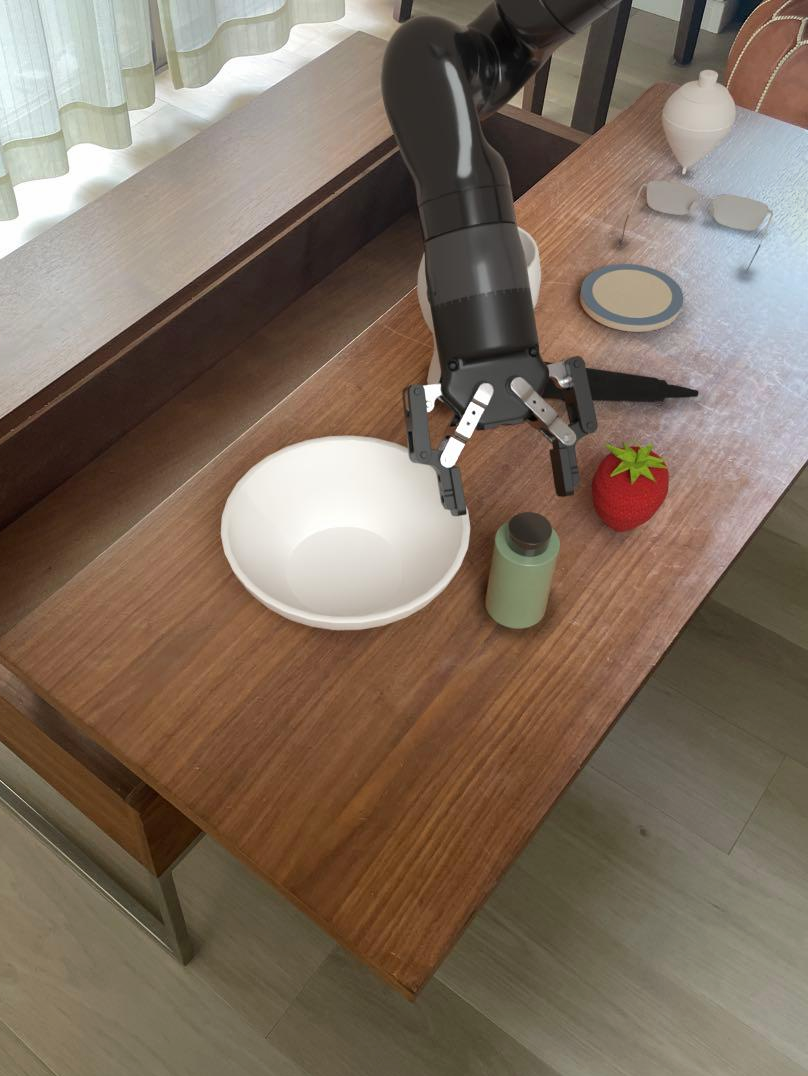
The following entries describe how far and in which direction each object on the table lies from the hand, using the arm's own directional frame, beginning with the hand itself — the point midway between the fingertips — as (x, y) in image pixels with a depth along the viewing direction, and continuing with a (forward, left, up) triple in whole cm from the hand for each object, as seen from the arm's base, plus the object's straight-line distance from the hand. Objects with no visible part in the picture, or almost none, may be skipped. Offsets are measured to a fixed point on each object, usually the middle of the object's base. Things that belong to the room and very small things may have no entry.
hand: (512, 505), depth 84 cm
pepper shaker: (-2, +3, -8) cm, 9 cm away
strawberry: (-8, -7, -8) cm, 14 cm away
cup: (+7, -22, -8) cm, 24 cm away
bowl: (+12, +4, -8) cm, 16 cm away
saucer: (-6, -38, -8) cm, 39 cm away
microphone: (-4, -22, -8) cm, 24 cm away
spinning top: (-9, -64, -8) cm, 65 cm away
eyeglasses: (-11, -51, -8) cm, 53 cm away
